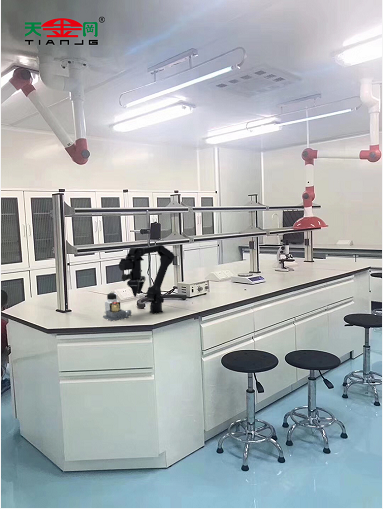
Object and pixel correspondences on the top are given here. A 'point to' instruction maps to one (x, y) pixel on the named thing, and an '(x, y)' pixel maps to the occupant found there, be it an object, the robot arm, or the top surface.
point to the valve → (115, 307)
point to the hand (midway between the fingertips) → (137, 295)
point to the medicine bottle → (111, 298)
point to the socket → (117, 314)
